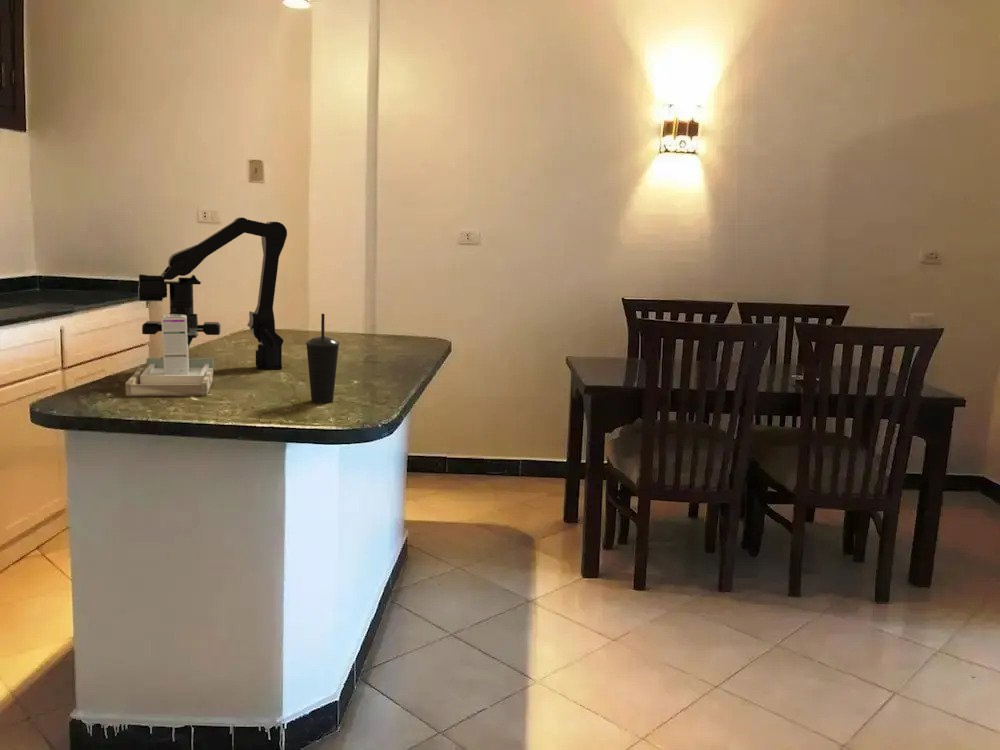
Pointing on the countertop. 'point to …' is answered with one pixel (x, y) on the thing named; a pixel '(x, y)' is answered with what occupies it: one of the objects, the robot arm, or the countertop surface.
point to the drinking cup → (322, 366)
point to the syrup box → (175, 344)
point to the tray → (156, 375)
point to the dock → (167, 387)
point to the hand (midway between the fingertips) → (182, 360)
